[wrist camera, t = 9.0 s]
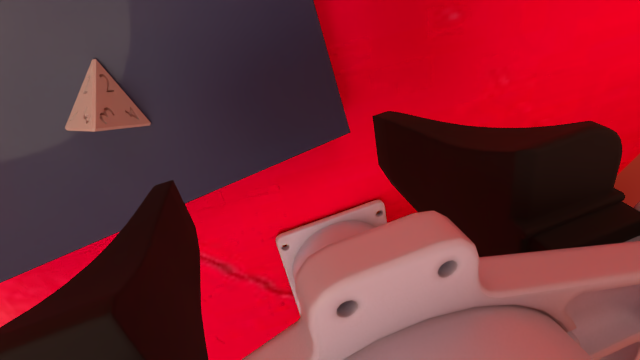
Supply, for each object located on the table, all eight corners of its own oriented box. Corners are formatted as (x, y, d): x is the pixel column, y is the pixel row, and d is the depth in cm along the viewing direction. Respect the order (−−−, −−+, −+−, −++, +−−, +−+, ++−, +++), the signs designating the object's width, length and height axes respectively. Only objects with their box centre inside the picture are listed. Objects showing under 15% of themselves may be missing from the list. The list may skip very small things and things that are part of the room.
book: (333, 114, 24) (350, 132, 22) (5, 253, 22) (-16, 289, 20) (243, -187, 16) (254, -209, 14) (-282, -14, 14) (-371, -6, 12)
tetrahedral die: (129, 143, 19) (147, 179, 17) (63, 128, 17) (75, 167, 15) (158, 80, 18) (180, 111, 16) (92, 57, 16) (109, 89, 14)
